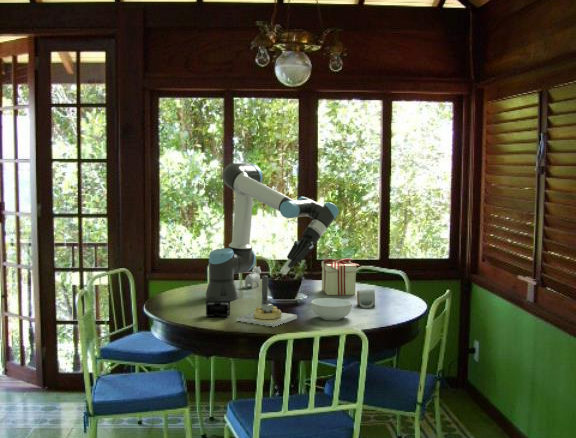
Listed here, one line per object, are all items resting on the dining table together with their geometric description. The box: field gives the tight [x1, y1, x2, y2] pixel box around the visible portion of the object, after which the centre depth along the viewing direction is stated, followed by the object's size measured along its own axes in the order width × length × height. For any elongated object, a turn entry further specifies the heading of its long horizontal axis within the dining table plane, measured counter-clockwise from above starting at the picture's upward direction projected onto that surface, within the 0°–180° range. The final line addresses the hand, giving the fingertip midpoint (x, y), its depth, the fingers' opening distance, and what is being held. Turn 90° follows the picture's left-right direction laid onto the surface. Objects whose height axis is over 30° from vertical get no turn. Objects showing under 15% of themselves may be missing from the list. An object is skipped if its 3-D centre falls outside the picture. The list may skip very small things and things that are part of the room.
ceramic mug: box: [356, 288, 376, 309], centre depth 306 cm, size 11×8×8 cm
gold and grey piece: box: [253, 275, 282, 319], centre depth 280 cm, size 16×11×15 cm
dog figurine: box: [244, 265, 262, 290], centre depth 353 cm, size 5×13×11 cm, turn 157°
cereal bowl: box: [310, 297, 353, 321], centre depth 282 cm, size 17×17×7 cm
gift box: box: [321, 258, 361, 296], centre depth 337 cm, size 17×18×17 cm
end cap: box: [205, 300, 231, 319], centre depth 284 cm, size 10×7×7 cm
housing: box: [236, 303, 298, 328], centre depth 278 cm, size 18×18×6 cm
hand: (282, 272), depth 291 cm, fingers closed
